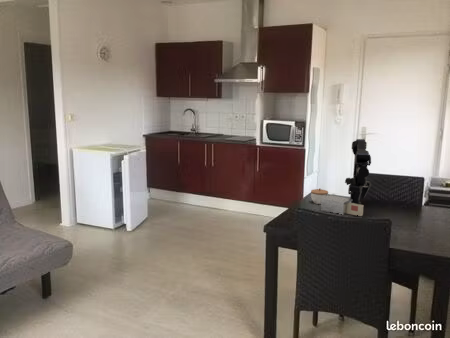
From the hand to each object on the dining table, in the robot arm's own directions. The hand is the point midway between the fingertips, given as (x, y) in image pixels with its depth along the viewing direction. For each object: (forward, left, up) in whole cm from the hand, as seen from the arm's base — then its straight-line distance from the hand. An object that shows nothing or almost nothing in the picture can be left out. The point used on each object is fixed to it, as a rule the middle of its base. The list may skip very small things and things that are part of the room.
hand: (359, 200), depth 236 cm
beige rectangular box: (0, -7, -9) cm, 11 cm away
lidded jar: (-10, -30, -9) cm, 33 cm away
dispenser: (0, -14, -9) cm, 17 cm away
